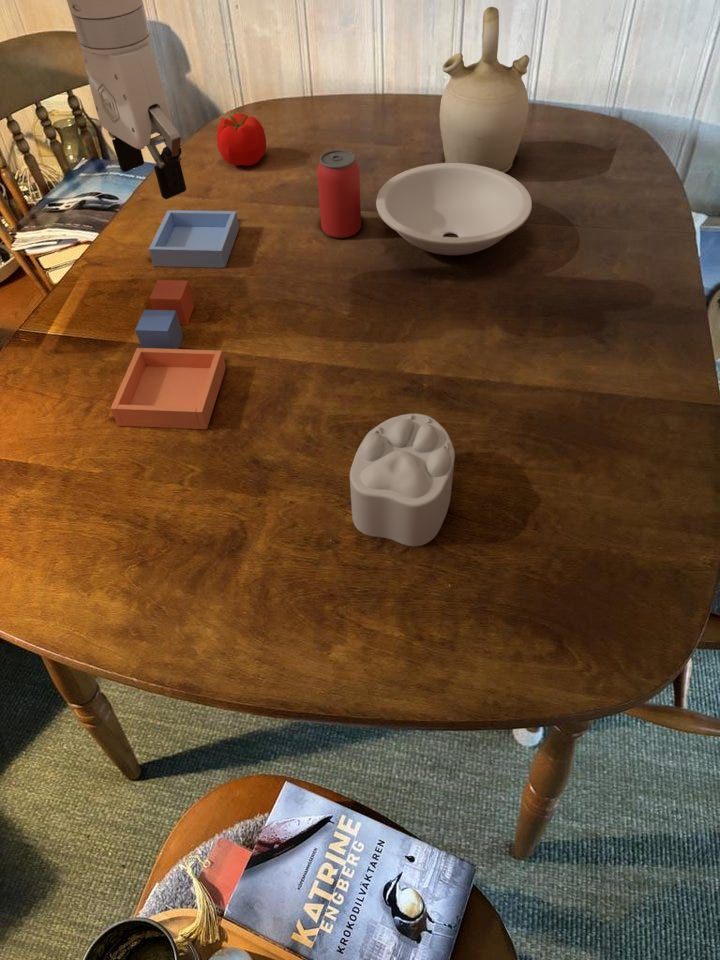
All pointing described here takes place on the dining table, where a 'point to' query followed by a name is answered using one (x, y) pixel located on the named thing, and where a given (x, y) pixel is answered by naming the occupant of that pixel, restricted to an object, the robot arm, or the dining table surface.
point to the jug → (484, 105)
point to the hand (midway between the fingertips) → (153, 180)
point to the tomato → (241, 140)
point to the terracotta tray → (169, 388)
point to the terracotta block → (173, 298)
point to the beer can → (339, 193)
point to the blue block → (159, 329)
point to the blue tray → (194, 239)
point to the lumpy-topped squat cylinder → (402, 480)
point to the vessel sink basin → (453, 207)
